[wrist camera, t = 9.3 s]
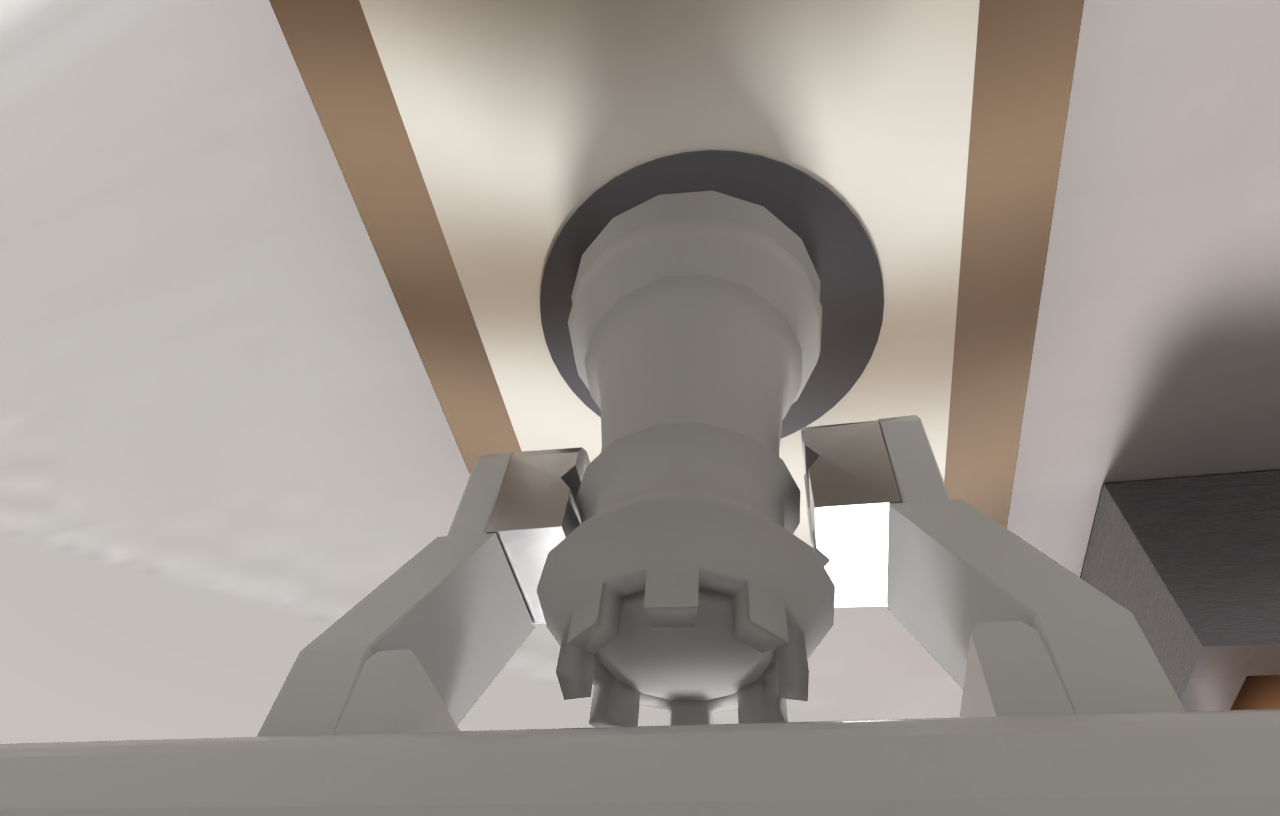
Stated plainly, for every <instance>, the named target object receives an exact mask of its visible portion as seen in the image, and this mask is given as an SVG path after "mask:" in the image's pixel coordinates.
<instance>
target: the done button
mask: <svg viewBox="0 0 1280 816" xmlns="http://www.w3.org/2000/svg"><path fill="white" fill-rule="evenodd" d="M1258 709H1280V675H1257V676H1247V677H1246V679H1245V681H1244V683H1243V685H1242V687H1241V689H1240V691H1239V693H1238V695H1237V697H1236V699H1235V701H1234V703H1233V705H1232V707H1231V709H1230V710H1258Z"/></svg>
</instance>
